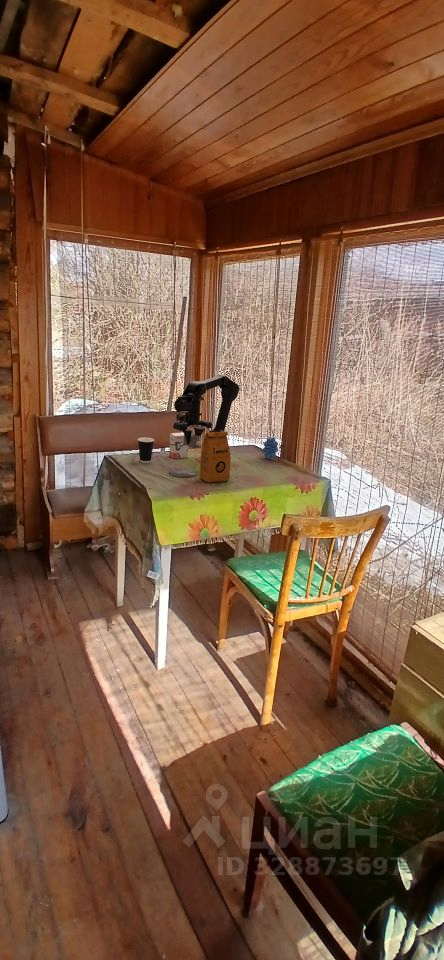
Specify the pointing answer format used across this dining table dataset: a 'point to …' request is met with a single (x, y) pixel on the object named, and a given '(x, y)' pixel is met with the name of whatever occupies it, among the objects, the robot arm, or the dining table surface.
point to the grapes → (270, 448)
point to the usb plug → (193, 441)
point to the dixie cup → (145, 449)
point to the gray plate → (182, 472)
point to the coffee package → (215, 457)
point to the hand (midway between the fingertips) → (191, 443)
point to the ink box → (178, 446)
